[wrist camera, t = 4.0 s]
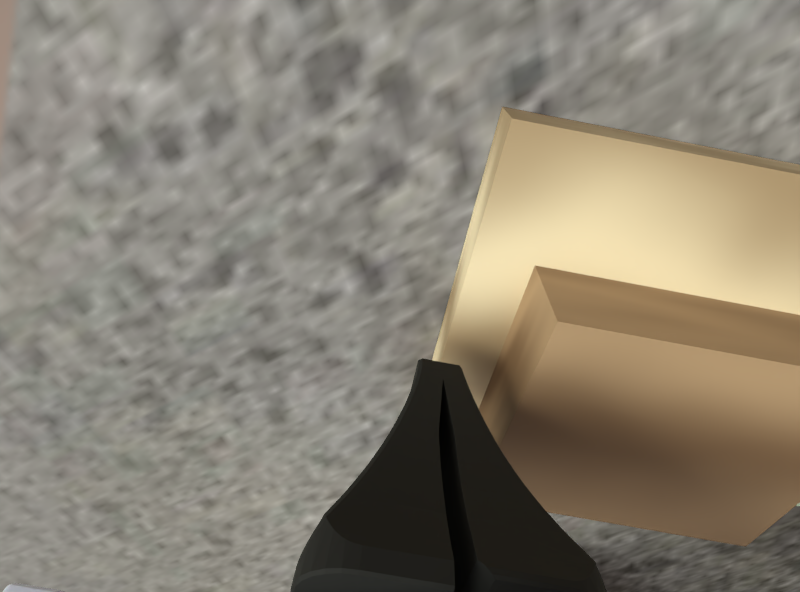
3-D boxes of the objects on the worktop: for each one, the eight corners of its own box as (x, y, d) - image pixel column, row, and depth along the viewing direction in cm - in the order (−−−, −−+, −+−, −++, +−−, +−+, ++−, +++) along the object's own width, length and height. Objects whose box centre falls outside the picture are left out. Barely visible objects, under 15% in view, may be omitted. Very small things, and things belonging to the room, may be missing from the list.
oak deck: (675, 491, 22) (696, 530, 20) (408, 443, 21) (406, 479, 20) (946, 193, 13) (1022, 218, 11) (502, 106, 13) (512, 118, 11)
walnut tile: (701, 472, 18) (745, 546, 15) (469, 431, 17) (474, 499, 15) (841, 322, 13) (935, 391, 11) (535, 265, 13) (557, 321, 11)
